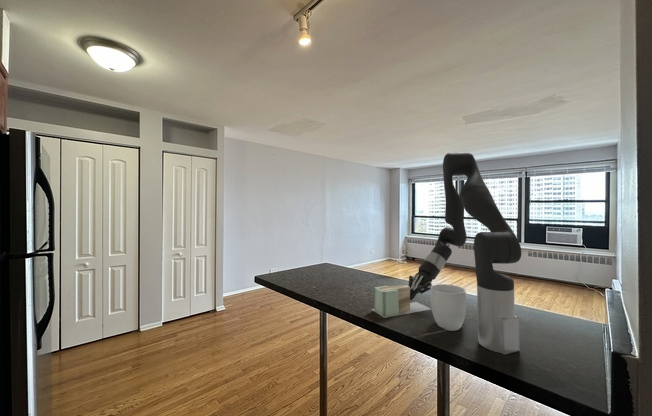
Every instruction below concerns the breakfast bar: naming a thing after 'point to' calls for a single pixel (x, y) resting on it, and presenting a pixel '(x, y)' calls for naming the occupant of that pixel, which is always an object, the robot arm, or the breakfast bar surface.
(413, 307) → the board
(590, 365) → the breakfast bar surface
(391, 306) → the end cap
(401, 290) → the tan wooden block
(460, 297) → the mug
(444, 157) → the robot arm
